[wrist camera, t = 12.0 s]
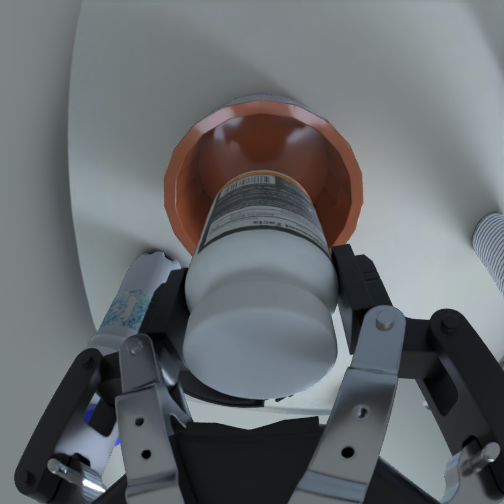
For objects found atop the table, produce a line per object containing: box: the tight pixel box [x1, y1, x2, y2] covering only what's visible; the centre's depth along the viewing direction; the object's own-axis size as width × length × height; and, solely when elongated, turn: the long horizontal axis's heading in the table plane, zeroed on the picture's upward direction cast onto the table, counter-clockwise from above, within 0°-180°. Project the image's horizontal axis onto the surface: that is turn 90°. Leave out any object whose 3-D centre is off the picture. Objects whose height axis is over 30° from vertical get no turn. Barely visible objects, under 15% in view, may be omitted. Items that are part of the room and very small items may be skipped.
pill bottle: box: [183, 170, 339, 399], centre depth 12 cm, size 6×6×10 cm
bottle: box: [83, 251, 181, 446], centre depth 23 cm, size 7×7×20 cm
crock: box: [164, 93, 363, 256], centre depth 21 cm, size 13×13×8 cm
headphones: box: [178, 370, 293, 408], centre depth 35 cm, size 18×8×20 cm
